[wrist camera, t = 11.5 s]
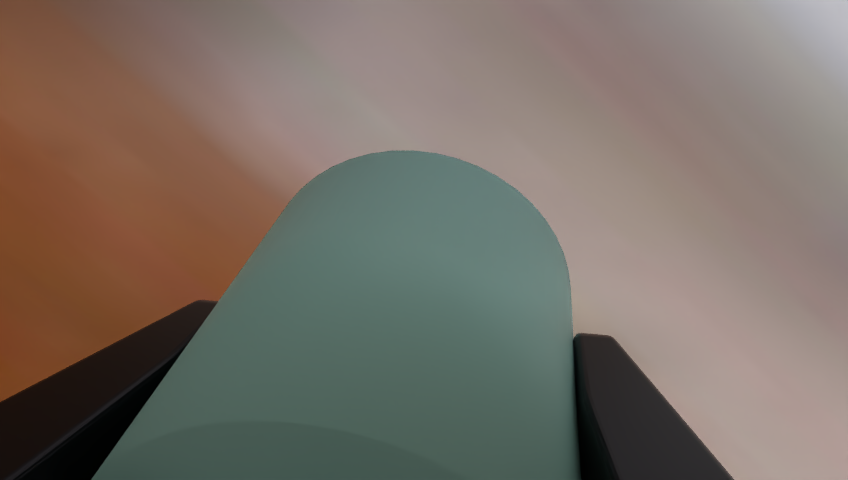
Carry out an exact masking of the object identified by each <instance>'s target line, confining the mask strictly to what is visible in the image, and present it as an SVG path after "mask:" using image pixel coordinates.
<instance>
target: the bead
mask: <svg viewBox="0 0 848 480" xmlns="http://www.w3.org/2000/svg"><path fill="white" fill-rule="evenodd" d="M91 480H581V466H580V448H579V435H578V420H577V402H576V384H575V365H574V347H573V322H572V304H571V287H570V279H569V271H568V267H567V264H566V260H565V256H564V253H563V251H562V249H561V246H560V244H559V242H558V240H557V237H556V235H555V234H554V232H553V231H552V229H551V228H550V226H549V224H548V223H547V221H546V220H545V218H544V217H543V216H542V215H541V214H540V212H539V211H538V210H537V209H536V208H535V207H534V205H533V204H532V203H531V202H530V201H529V200H528V199H526V198H525V197H524V196H523V195H522V194H521V193H520V192H519V191H518V190H516V189H515V188H514V187H512V186H511V185H509V184H508V183H506V182H505V181H504V180H502V179H501V178H499V177H498V176H496V175H494V174H492V173H490V172H488V171H486V170H484V169H482V168H480V167H479V166H476V165H473V164H471V163H468V162H465V161H463V160H460V159H457V158H453V157H449V156H445V155H441V154H437V153H429V152H421V151H387V152H379V153H372V154H367V155H364V156H360V157H356V158H353V159H350V160H347V161H345V162H342V163H340V164H338V165H335V166H333V167H331V168H329V169H328V170H326V171H324V172H323V173H321V174H319V175H318V176H316V177H315V178H314V179H312V180H311V181H310V182H309V183H308V184H306V185H305V186H304V187H303V188H301V190H300V191H299V192H298V193H297V194H296V195H295V196H294V197H293V199H292V200H291V201H290V202H289V203H288V205H287V206H286V208H285V209H284V210H283V212H282V213H281V215H280V216H279V217H278V219H277V220H276V222H275V223H274V224H273V226H272V227H271V229H270V230H269V231H268V233H267V234H266V236H265V237H264V238H263V240H262V241H261V243H260V244H259V245H258V247H257V248H256V250H255V251H254V252H253V254H252V255H251V257H250V258H249V259H248V261H247V262H246V264H245V265H244V266H243V268H242V269H241V271H240V272H239V273H238V275H237V276H236V278H235V279H234V280H233V282H232V283H231V285H230V286H229V287H228V289H227V290H226V292H225V293H224V294H223V296H222V297H221V299H220V300H219V301H218V303H217V304H216V306H215V307H214V308H213V310H212V311H211V313H210V314H209V315H208V317H207V318H206V320H205V321H204V322H203V324H202V325H201V327H200V328H199V329H198V331H197V332H196V334H195V335H194V336H193V338H192V339H191V341H190V342H189V343H188V345H187V346H186V348H185V349H184V350H183V352H182V353H181V355H180V356H179V357H178V359H177V360H176V362H175V363H174V364H173V366H172V367H171V369H170V370H169V371H168V373H167V374H166V376H165V377H164V378H163V380H162V381H161V383H160V384H159V385H158V387H157V388H156V390H155V391H154V392H153V394H152V395H151V397H150V398H149V399H148V401H147V402H146V404H145V405H144V406H143V408H142V409H141V411H140V412H139V413H138V415H137V416H136V418H135V419H134V420H133V422H132V423H131V425H130V426H129V427H128V429H127V430H126V432H125V433H124V434H123V436H122V437H121V439H120V440H119V441H118V443H117V444H116V446H115V447H114V448H113V450H112V451H111V453H110V454H109V455H108V457H107V458H106V460H105V461H104V462H103V464H102V465H101V467H100V468H99V470H98V471H97V472H96V474H95V475H94V477H93V478H92V479H91Z"/></svg>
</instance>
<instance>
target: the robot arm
mask: <svg viewBox="0 0 848 480" xmlns="http://www.w3.org/2000/svg"><path fill="white" fill-rule="evenodd" d="M217 303H218V301H208V300H198V301H195V302H193V303H191V304H189V305H187V306H185V307H183V308H181V309H179V310H177V311H175V312H174V313H172V314H170V315H168V316H166V317H164V318H162V319H160V320H158V321H156V322H154V323H152V324H150V325H148V326H146V327H145V328H143V329H141V330H139V331H137V332H135V333H133V334H131V335H129V336H127V337H125V338H123V339H121V340H119V341H117V342H116V343H114V344H112V345H110V346H108V347H106V348H104V349H102V350H100V351H98V352H96V353H94V354H92V355H90V356H88V357H86V358H85V359H83V360H81V361H79V362H77V363H75V364H73V365H71V366H69V367H67V368H65V369H63V370H61V371H59V372H57V373H56V374H54V375H52V376H50V377H48V378H46V379H44V380H42V381H40V382H38V383H36V384H34V385H32V386H30V387H28V388H26V389H25V390H23V391H21V392H19V393H17V394H15V395H13V396H11V397H9V398H7V399H5V400H3V401H1V402H0V480H91V479H92V478H93V477H94V475H95V474H96V472H97V471H98V470H99V468H100V467H101V465H102V464H103V462H104V461H105V460H106V458H107V457H108V455H109V454H110V453H111V451H112V450H113V448H114V447H115V446H116V444H117V443H118V441H119V440H120V439H121V437H122V436H123V434H124V433H125V432H126V430H127V429H128V427H129V426H130V425H131V423H132V422H133V420H134V419H135V418H136V416H137V415H138V413H139V412H140V411H141V409H142V408H143V406H144V405H145V404H146V402H147V401H148V399H149V398H150V397H151V395H152V394H153V392H154V391H155V390H156V388H157V387H158V385H159V384H160V383H161V381H162V380H163V378H164V377H165V376H166V374H167V373H168V371H169V370H170V369H171V367H172V366H173V364H174V363H175V362H176V360H177V359H178V357H179V356H180V355H181V353H182V352H183V350H184V349H185V348H186V346H187V345H188V343H189V342H190V341H191V339H192V338H193V336H194V335H195V334H196V332H197V331H198V329H199V328H200V327H201V325H202V324H203V322H204V321H205V320H206V318H207V317H208V315H209V314H210V313H211V311H212V310H213V308H214V307H215V306H216V304H217ZM573 347H574V365H575V384H576V402H577V420H578V435H579V448H580V466H581V480H734V479H733V478H732V476H731V475H730V474H729V473H728V472H727V471H726V469H725V468H724V467H723V466H722V465H721V464H720V462H719V461H718V460H717V459H716V458H715V456H714V455H713V454H712V453H711V452H710V451H709V449H708V448H707V447H706V446H705V445H704V444H703V442H702V441H701V440H700V439H699V438H698V436H697V435H696V434H695V433H694V432H693V431H692V429H691V428H690V427H689V426H688V425H687V424H686V422H685V421H684V420H683V419H682V418H681V416H680V415H679V414H678V413H677V412H676V411H675V409H674V408H673V407H672V406H671V405H670V404H669V402H668V401H667V400H666V399H665V398H664V396H663V395H662V394H661V393H660V392H659V391H658V389H657V388H656V387H655V386H654V385H653V383H652V382H651V381H650V380H649V379H648V378H647V376H646V375H645V374H644V373H643V372H642V371H641V369H640V368H639V367H638V366H637V365H636V363H635V362H634V361H633V360H632V359H631V358H630V356H629V355H628V354H627V353H626V352H625V351H624V349H623V348H622V347H621V346H620V345H619V343H618V342H617V341H616V340H615V339H614V338H613V337H611V336H608V335H598V334H586V333H578V334H577V335H576V336H575V337H574V340H573Z"/></svg>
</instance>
